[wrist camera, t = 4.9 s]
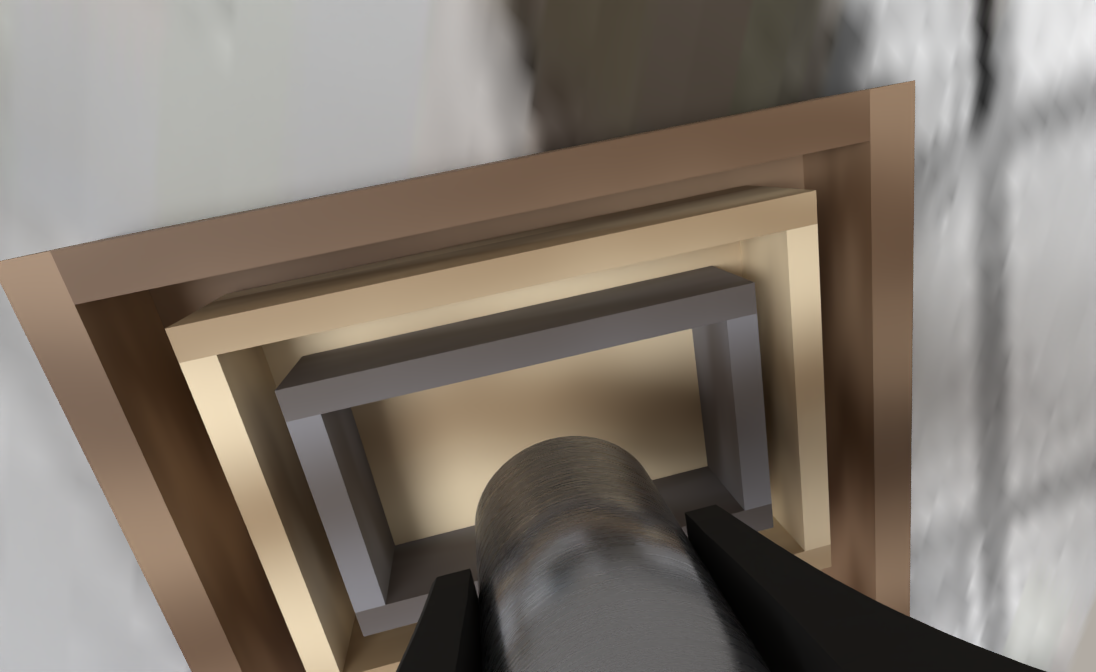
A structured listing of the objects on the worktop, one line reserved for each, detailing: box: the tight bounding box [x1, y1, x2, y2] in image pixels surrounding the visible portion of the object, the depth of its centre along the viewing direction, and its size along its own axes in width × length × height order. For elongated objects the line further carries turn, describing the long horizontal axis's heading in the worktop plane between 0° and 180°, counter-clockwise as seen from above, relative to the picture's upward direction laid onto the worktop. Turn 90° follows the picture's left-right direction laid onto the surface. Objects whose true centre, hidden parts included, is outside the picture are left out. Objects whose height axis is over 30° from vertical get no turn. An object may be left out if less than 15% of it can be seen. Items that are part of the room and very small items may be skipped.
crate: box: [165, 185, 832, 672], centre depth 16 cm, size 11×15×4 cm
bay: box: [0, 81, 915, 672], centre depth 18 cm, size 22×21×4 cm
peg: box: [475, 436, 771, 672], centre depth 10 cm, size 4×4×6 cm
